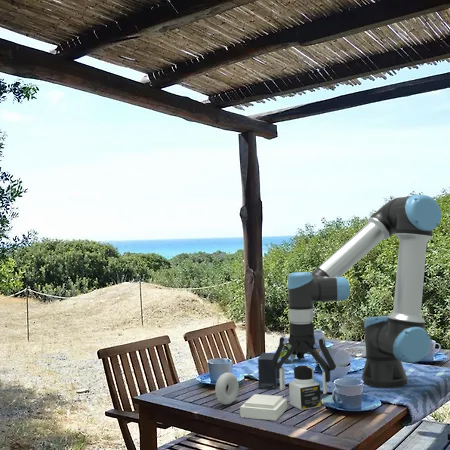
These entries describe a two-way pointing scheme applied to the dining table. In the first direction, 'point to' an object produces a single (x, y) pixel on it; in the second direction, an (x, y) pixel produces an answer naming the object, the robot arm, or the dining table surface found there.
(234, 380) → the donut
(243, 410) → the plinth
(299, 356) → the passion flower
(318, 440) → the dining table surface
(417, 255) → the robot arm
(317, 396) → the medicine bottle
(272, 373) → the small box
